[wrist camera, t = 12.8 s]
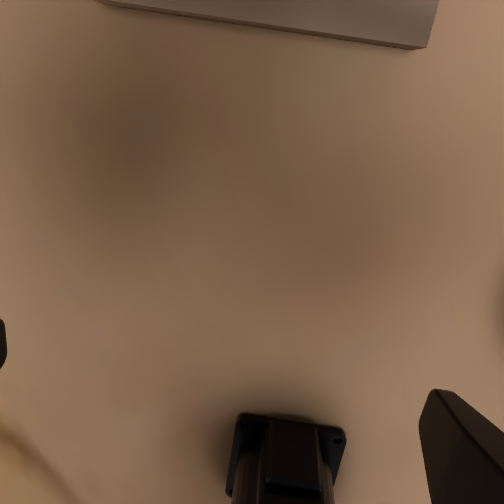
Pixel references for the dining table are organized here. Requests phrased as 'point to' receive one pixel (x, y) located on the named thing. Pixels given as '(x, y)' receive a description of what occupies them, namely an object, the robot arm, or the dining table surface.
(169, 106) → the dining table surface
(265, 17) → the brown wooden tray
